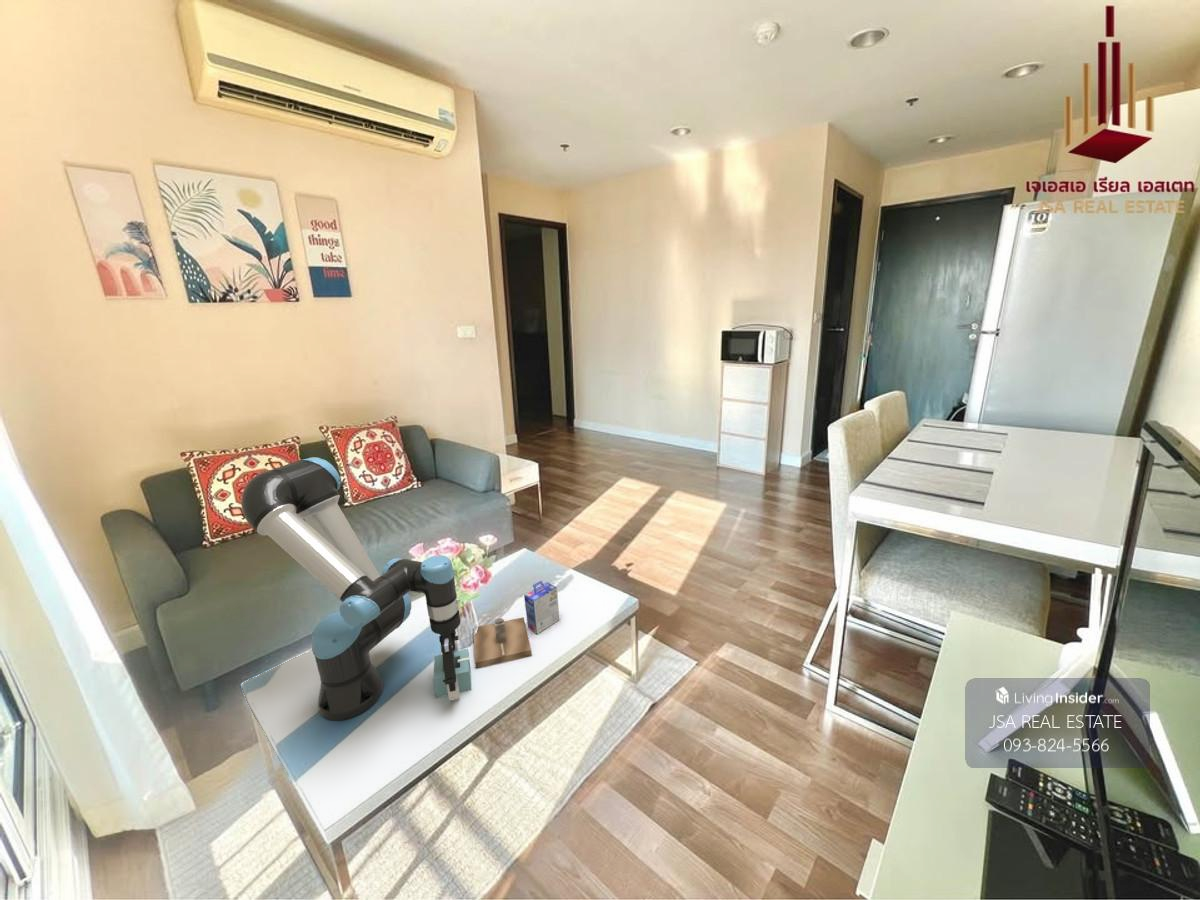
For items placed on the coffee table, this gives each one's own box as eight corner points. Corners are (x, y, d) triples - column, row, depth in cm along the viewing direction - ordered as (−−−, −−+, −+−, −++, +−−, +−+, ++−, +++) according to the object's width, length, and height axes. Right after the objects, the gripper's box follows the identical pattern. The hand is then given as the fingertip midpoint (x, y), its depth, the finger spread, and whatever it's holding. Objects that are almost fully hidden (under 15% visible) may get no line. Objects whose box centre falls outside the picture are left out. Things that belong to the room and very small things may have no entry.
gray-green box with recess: (472, 689, 125) (469, 669, 123) (436, 697, 122) (433, 678, 120) (470, 665, 133) (468, 647, 131) (437, 673, 130) (434, 654, 128)
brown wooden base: (475, 668, 132) (472, 645, 129) (473, 632, 146) (470, 611, 144) (531, 655, 136) (529, 632, 134) (524, 622, 151) (522, 601, 149)
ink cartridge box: (549, 612, 155) (546, 574, 151) (560, 619, 152) (558, 581, 148) (526, 627, 149) (522, 588, 144) (537, 634, 145) (533, 594, 141)
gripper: (459, 640, 111) (469, 710, 117) (458, 585, 134) (467, 646, 140) (426, 647, 109) (438, 719, 115) (431, 590, 132) (441, 652, 138)
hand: (454, 679), depth 127 cm, fingers open, 13 cm apart
